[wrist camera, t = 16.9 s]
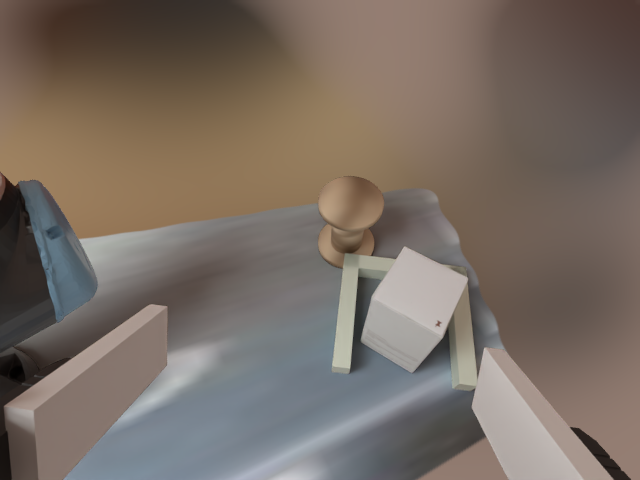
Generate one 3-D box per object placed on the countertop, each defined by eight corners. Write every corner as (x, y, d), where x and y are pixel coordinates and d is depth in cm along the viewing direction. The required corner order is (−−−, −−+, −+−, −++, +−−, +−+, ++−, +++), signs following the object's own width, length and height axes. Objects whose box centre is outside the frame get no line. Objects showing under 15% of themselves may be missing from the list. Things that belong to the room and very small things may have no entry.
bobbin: (314, 265, 50) (314, 222, 42) (321, 219, 55) (322, 173, 47) (371, 272, 50) (382, 230, 42) (374, 225, 54) (385, 179, 46)
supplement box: (437, 324, 46) (473, 278, 35) (411, 375, 42) (443, 340, 32) (385, 295, 48) (404, 243, 38) (357, 341, 45) (370, 297, 34)
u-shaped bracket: (331, 371, 42) (332, 366, 40) (343, 262, 51) (344, 253, 49) (470, 391, 41) (478, 386, 39) (459, 276, 50) (465, 267, 48)
